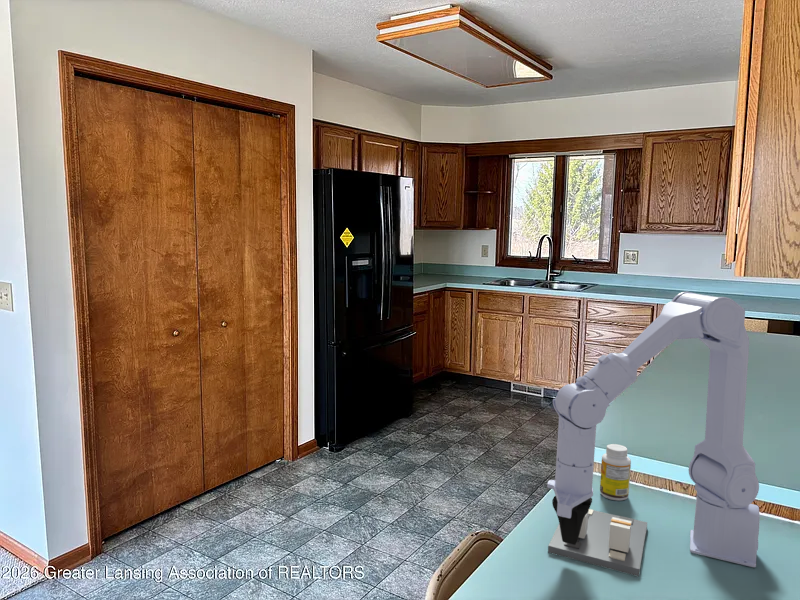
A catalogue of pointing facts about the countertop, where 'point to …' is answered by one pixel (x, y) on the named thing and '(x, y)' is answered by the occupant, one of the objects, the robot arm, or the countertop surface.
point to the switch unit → (603, 544)
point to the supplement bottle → (615, 473)
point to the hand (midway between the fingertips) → (569, 541)
